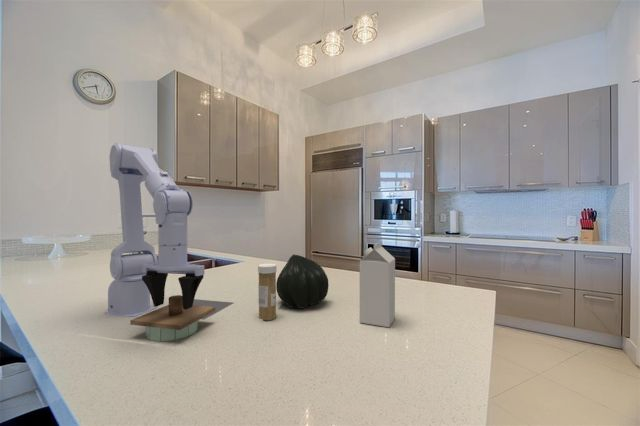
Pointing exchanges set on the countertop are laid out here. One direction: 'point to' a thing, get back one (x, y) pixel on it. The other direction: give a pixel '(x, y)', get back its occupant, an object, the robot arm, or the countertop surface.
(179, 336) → the bowl
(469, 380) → the countertop surface
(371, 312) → the milk carton
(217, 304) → the mat
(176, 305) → the lid
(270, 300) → the sprinkles bottle
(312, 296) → the squash
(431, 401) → the countertop surface
